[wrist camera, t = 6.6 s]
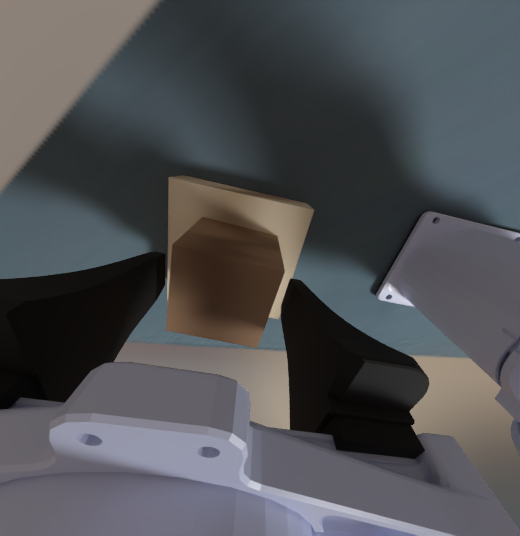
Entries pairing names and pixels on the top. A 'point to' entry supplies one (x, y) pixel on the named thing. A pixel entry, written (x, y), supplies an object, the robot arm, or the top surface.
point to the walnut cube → (223, 282)
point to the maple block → (239, 218)
